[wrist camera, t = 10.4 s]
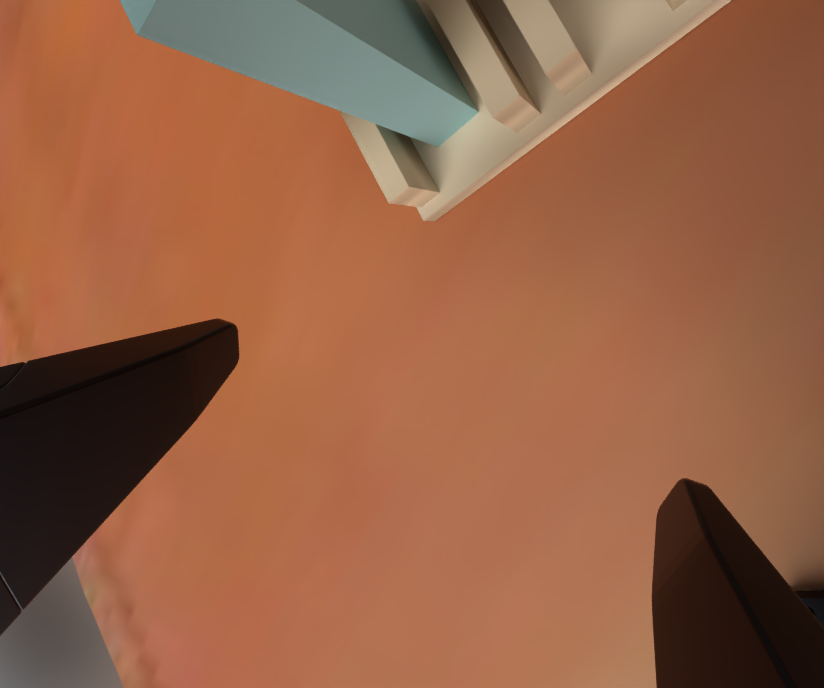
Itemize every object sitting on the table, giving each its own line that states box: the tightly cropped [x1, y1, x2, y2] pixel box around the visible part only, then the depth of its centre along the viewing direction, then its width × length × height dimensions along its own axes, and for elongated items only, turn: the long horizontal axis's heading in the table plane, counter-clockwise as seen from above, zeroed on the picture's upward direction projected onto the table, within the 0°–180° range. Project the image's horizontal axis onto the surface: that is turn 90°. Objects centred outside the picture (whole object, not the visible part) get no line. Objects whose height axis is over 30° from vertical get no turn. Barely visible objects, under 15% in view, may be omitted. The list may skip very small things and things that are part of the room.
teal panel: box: [120, 0, 479, 147], centre depth 13 cm, size 5×2×12 cm, turn 33°
